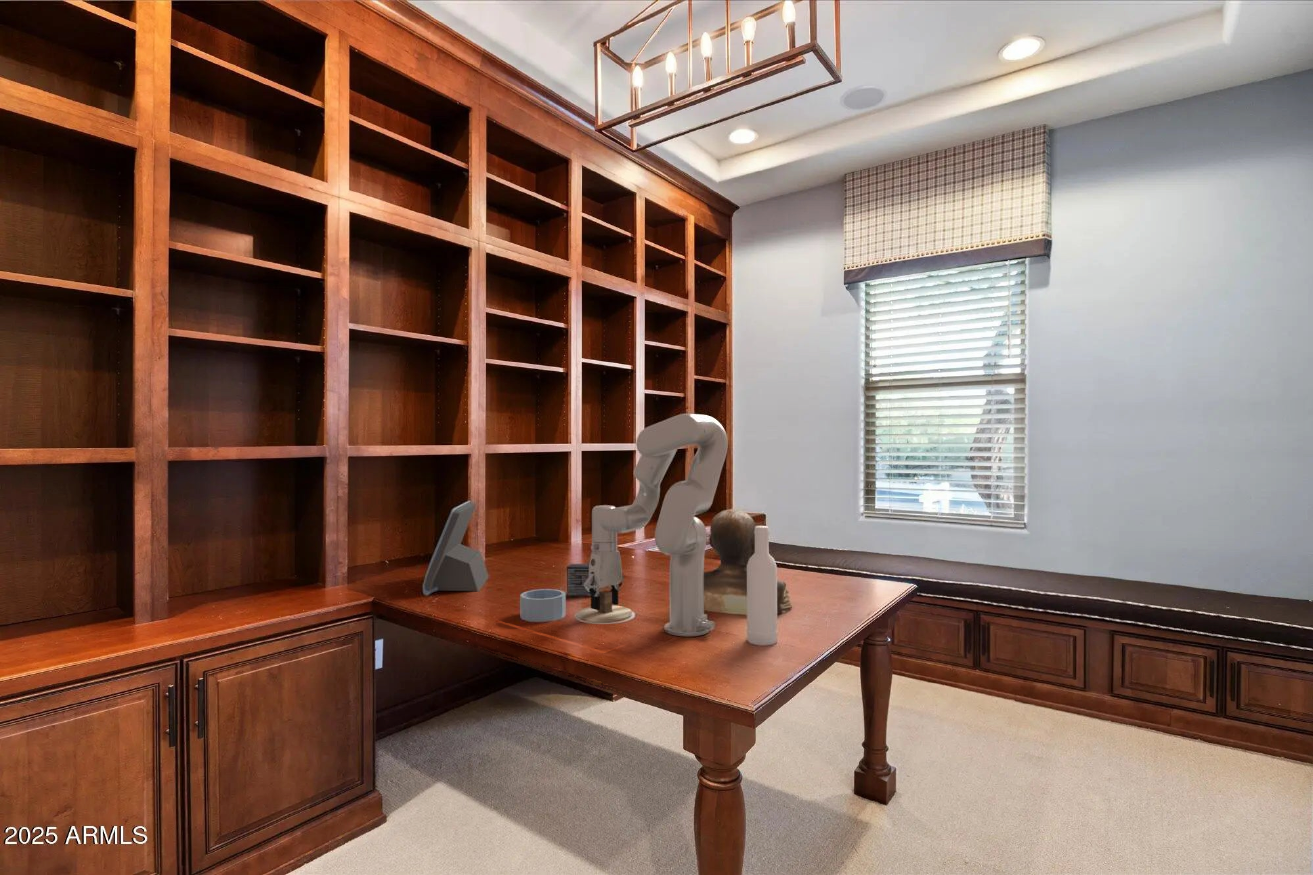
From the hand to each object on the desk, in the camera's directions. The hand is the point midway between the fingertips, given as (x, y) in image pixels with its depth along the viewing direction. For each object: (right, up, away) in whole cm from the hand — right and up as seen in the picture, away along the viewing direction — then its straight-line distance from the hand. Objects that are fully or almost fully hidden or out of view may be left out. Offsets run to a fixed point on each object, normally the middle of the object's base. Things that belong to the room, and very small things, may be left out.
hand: (604, 606), depth 192 cm
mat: (0, -3, 0) cm, 3 cm away
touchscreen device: (-58, -4, +45) cm, 74 cm away
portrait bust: (+41, -4, +14) cm, 43 cm away
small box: (-9, -4, +28) cm, 29 cm away
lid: (0, -3, 0) cm, 3 cm away
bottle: (+43, -3, -23) cm, 49 cm away
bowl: (-18, -3, 0) cm, 19 cm away
